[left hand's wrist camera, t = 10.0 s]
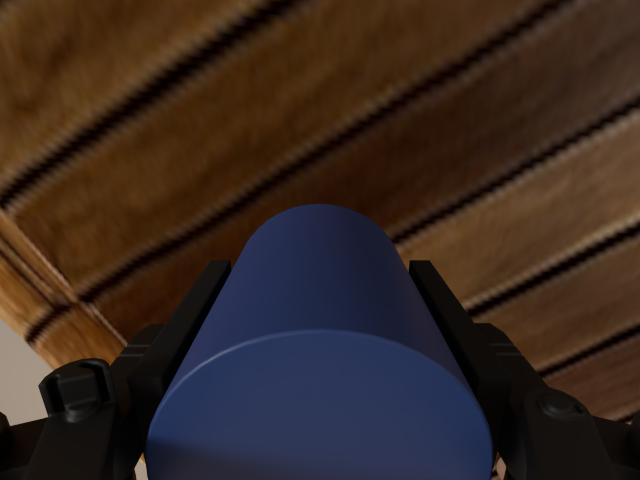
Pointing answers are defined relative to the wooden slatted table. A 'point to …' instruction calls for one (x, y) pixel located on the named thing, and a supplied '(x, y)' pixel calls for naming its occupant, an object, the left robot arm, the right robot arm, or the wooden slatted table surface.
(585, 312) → the wooden slatted table surface
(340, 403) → the canister
